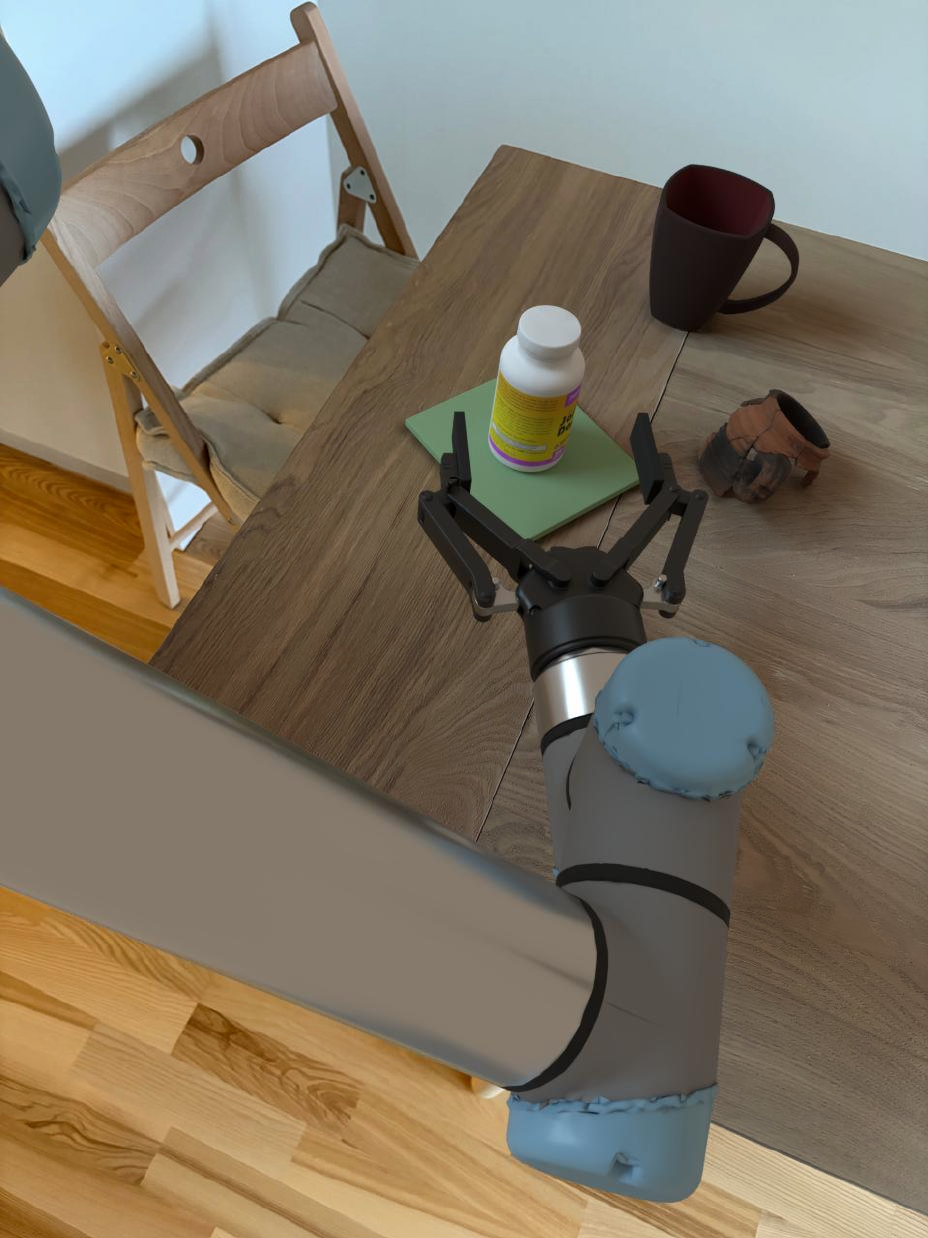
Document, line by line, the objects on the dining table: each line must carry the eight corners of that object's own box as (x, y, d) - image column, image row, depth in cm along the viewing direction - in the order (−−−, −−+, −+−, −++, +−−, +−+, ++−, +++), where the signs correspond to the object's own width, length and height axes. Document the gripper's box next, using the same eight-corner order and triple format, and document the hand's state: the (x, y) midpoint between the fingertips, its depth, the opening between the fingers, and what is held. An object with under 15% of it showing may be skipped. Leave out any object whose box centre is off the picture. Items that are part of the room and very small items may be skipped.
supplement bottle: (557, 483, 78) (586, 365, 67) (479, 465, 79) (497, 345, 68) (570, 427, 82) (601, 307, 71) (496, 410, 82) (515, 287, 71)
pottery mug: (689, 428, 85) (758, 362, 80) (764, 487, 87) (836, 427, 82) (689, 502, 76) (767, 433, 71) (773, 565, 78) (854, 504, 73)
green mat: (404, 425, 81) (405, 418, 81) (530, 367, 87) (532, 360, 86) (517, 550, 75) (518, 544, 74) (645, 480, 80) (648, 474, 80)
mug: (650, 265, 96) (683, 153, 86) (779, 312, 94) (829, 203, 84) (617, 321, 91) (648, 209, 81) (753, 372, 89) (802, 264, 79)
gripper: (388, 709, 60) (379, 459, 71) (762, 698, 63) (696, 459, 74) (391, 649, 54) (380, 385, 65) (806, 640, 57) (727, 389, 68)
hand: (549, 424), depth 70 cm, fingers open, 13 cm apart
